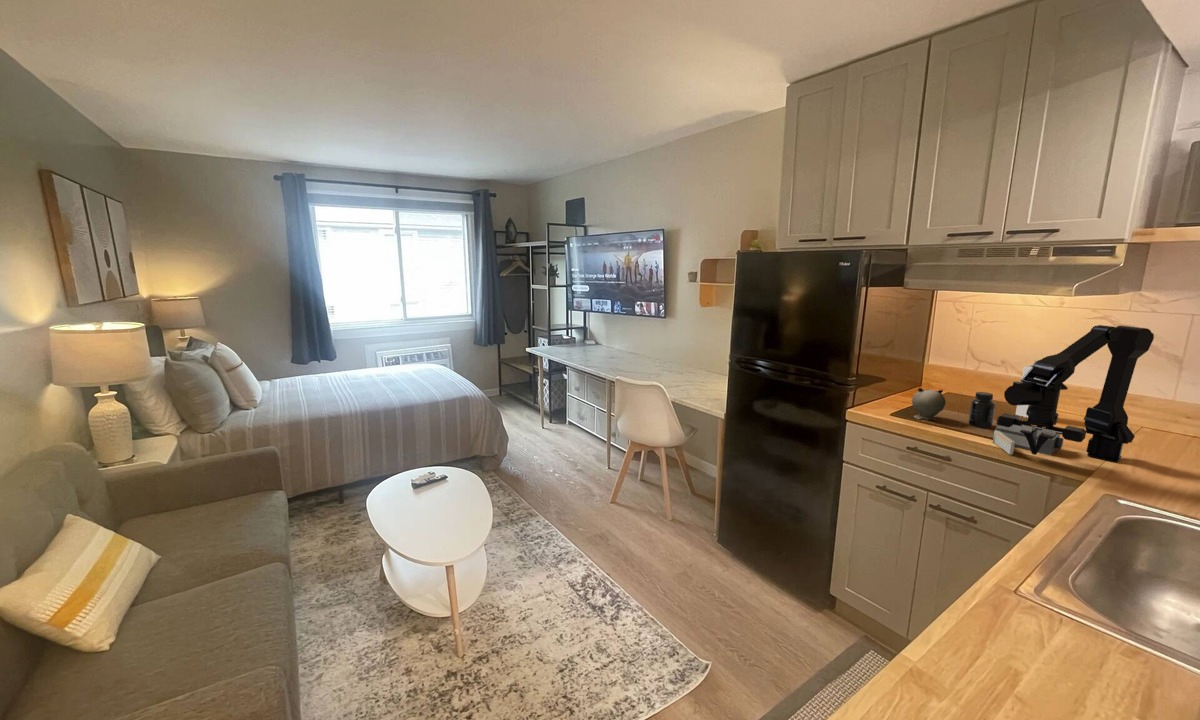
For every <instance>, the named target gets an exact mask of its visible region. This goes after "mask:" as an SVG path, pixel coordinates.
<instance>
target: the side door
mask: <svg viewBox="0 0 1200 720" xmlns="http://www.w3.org/2000/svg"><path fill="white" fill-rule="evenodd" d="M993 444H995V445H997V446H998V447H1000V448H1001V449H1002V450H1003V451H1005V452H1006V453H1007V454H1008V455H1011V456H1012V455H1014V451H1015V450H1014V449H1015V447H1014V445H1015V442H1014V441H1012V440H1011V439H1010V438H1008V437H1007V436H1005V435H1004V434H1003V433H1001V432H1000V431H996V436H995V442H994V443H993Z"/></svg>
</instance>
